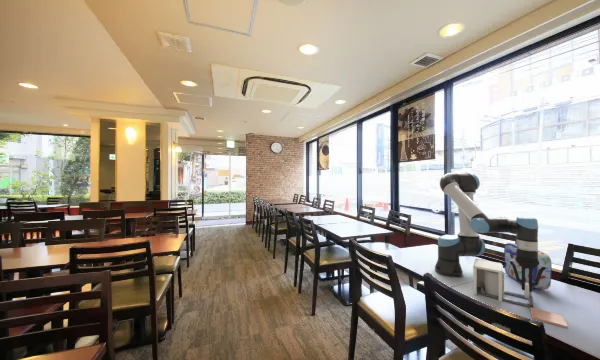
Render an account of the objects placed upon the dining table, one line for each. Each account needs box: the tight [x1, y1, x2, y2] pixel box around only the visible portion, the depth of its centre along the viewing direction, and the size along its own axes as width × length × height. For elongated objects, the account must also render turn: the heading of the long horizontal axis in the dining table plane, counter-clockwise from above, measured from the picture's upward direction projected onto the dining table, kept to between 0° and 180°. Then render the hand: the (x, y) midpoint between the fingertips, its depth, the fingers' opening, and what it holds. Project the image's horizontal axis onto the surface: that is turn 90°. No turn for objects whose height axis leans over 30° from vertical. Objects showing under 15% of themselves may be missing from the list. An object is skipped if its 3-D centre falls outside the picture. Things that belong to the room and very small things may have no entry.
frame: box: [480, 282, 534, 308], centre depth 119 cm, size 19×11×4 cm, turn 49°
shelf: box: [472, 258, 503, 302], centre depth 123 cm, size 11×14×15 cm
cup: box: [484, 270, 505, 298], centre depth 122 cm, size 8×8×12 cm
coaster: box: [529, 307, 569, 329], centre depth 101 cm, size 10×10×1 cm
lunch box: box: [502, 242, 552, 290], centre depth 137 cm, size 28×10×22 cm, turn 168°
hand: (526, 297), depth 114 cm, fingers closed
